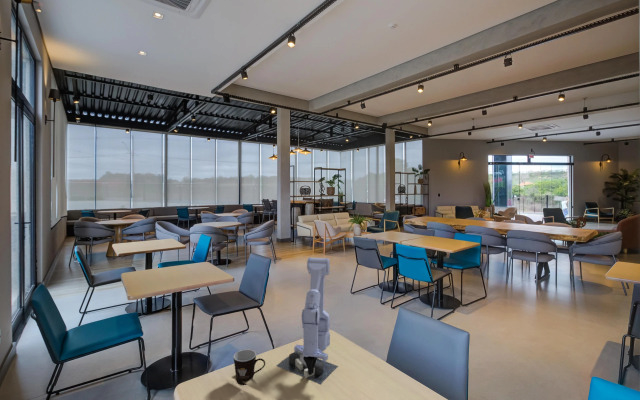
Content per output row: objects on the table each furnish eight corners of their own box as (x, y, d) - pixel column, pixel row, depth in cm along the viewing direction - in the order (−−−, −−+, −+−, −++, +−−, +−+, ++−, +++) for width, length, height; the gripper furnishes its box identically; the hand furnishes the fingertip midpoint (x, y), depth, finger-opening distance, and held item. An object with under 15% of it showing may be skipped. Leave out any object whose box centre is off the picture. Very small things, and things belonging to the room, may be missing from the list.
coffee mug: (228, 382, 118) (228, 357, 117) (244, 371, 125) (244, 347, 125) (252, 392, 112) (252, 366, 112) (266, 379, 120) (266, 354, 119)
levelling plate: (296, 353, 138) (296, 341, 138) (338, 369, 127) (338, 356, 126) (275, 369, 127) (275, 355, 126) (320, 388, 115) (320, 373, 115)
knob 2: (319, 367, 126) (319, 360, 125) (325, 372, 122) (325, 365, 122) (301, 374, 121) (302, 366, 121) (307, 380, 117) (307, 372, 117)
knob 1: (287, 361, 129) (287, 354, 129) (296, 358, 132) (296, 351, 132) (297, 371, 123) (297, 364, 122) (306, 368, 125) (306, 360, 125)
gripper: (289, 338, 119) (289, 372, 119) (321, 348, 112) (321, 385, 112) (300, 331, 125) (300, 364, 125) (330, 340, 118) (330, 375, 118)
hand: (310, 373), depth 119 cm, fingers closed, pressing on knob 2
